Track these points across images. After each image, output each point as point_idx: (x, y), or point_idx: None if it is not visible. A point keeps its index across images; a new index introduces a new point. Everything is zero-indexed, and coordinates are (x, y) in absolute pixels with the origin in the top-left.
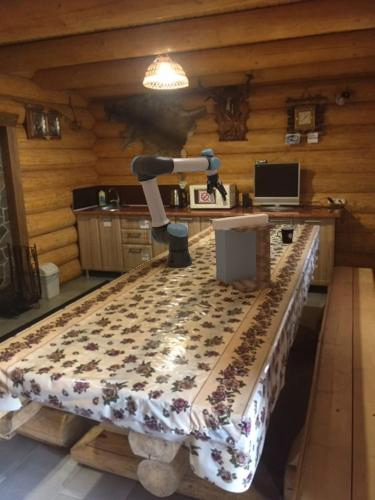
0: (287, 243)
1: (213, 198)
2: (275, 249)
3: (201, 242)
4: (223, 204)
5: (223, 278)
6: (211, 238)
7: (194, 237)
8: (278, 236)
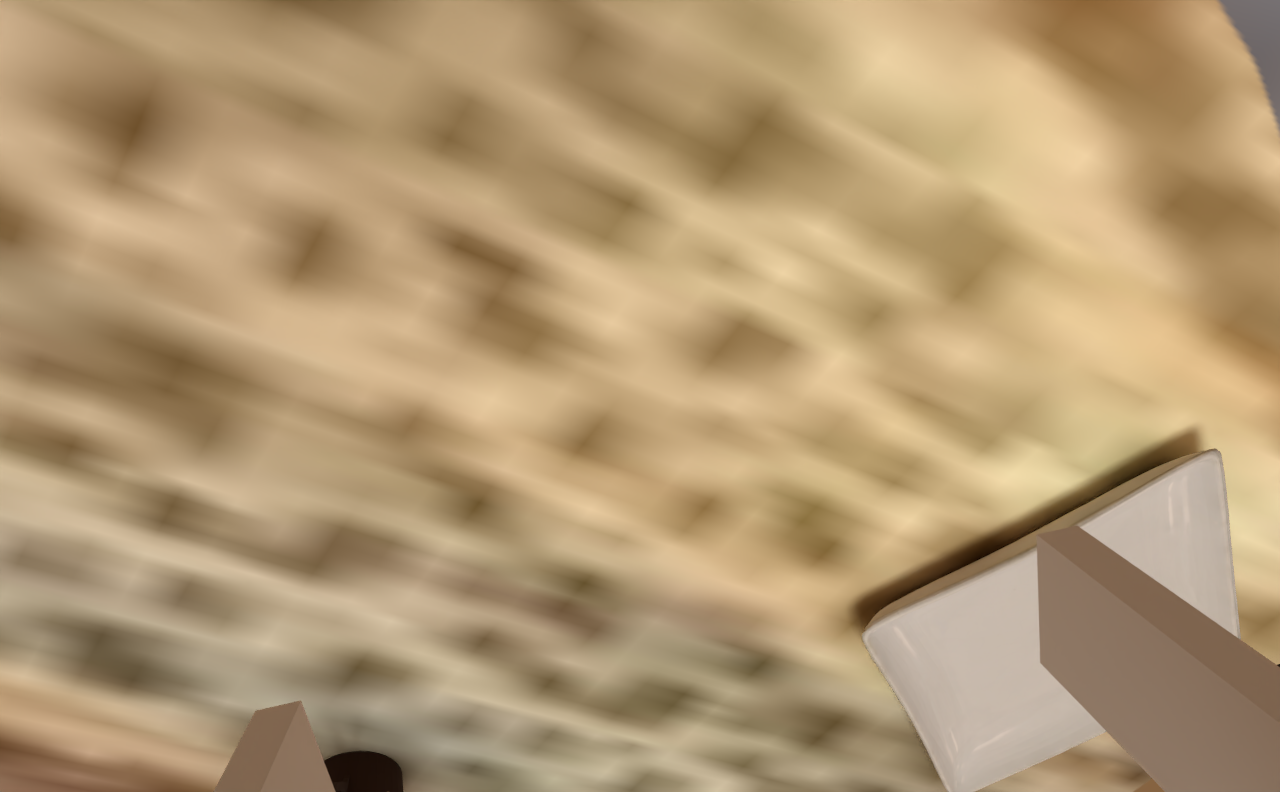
0: None
1: (1166, 750)
2: (101, 636)
3: (955, 63)
4: (257, 755)
5: None
6: (1037, 278)
7: (1265, 113)
8: None
